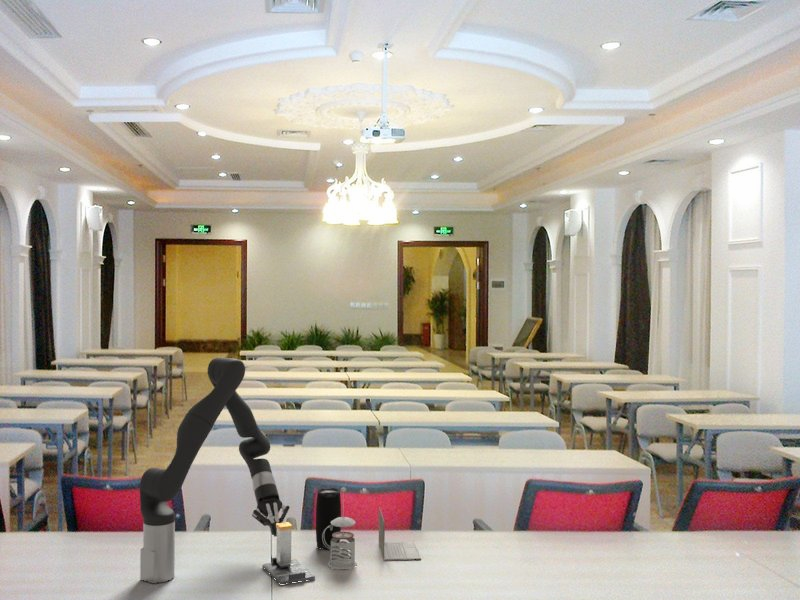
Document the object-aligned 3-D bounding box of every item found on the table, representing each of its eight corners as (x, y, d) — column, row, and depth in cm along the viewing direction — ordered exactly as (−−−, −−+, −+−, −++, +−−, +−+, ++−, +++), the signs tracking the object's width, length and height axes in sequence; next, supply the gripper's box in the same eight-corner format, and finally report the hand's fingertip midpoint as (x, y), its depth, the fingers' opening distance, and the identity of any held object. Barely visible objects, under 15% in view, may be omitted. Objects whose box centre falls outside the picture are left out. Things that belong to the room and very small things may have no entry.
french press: (353, 571, 262) (354, 492, 261) (317, 568, 264) (318, 489, 263) (361, 561, 271) (362, 484, 271) (326, 558, 274) (327, 482, 273)
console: (314, 580, 254) (314, 571, 253) (280, 585, 248) (280, 576, 248) (295, 562, 269) (295, 554, 269) (262, 567, 264) (262, 559, 264)
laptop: (421, 560, 273) (421, 521, 273) (383, 561, 272) (383, 522, 271) (414, 543, 291) (414, 506, 291) (378, 544, 290) (378, 507, 289)
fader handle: (292, 566, 261) (292, 525, 261) (279, 568, 259) (280, 527, 259) (287, 561, 265) (287, 521, 265) (275, 563, 263) (275, 523, 263)
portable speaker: (338, 541, 291) (339, 486, 290) (341, 550, 282) (342, 493, 281) (314, 542, 289) (315, 486, 289) (316, 551, 280) (317, 493, 279)
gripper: (248, 484, 273) (259, 532, 263) (286, 480, 279) (299, 526, 269) (243, 496, 278) (254, 543, 268) (281, 492, 284) (293, 538, 274)
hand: (277, 535), depth 268 cm, fingers closed
